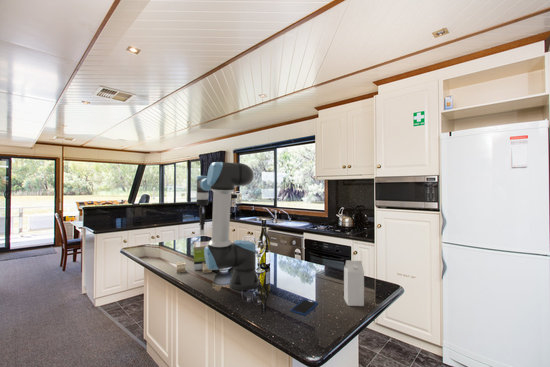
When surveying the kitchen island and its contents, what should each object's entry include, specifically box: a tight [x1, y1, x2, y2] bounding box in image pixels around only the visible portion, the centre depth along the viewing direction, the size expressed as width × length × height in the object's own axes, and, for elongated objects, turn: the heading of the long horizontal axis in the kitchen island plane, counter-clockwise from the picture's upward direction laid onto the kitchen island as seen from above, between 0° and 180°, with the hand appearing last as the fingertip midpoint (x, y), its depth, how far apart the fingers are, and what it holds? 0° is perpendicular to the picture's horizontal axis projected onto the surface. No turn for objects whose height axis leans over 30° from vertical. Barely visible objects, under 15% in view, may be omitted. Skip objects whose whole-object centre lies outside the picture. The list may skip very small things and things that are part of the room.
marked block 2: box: [201, 262, 213, 274], centre depth 159 cm, size 5×5×5 cm
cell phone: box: [289, 298, 319, 316], centre depth 112 cm, size 7×14×1 cm, turn 147°
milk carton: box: [343, 260, 365, 307], centre depth 117 cm, size 7×7×19 cm
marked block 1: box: [176, 261, 186, 274], centre depth 159 cm, size 5×5×5 cm
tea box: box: [193, 240, 210, 271], centre depth 169 cm, size 15×10×15 cm
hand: (201, 234), depth 170 cm, fingers closed
